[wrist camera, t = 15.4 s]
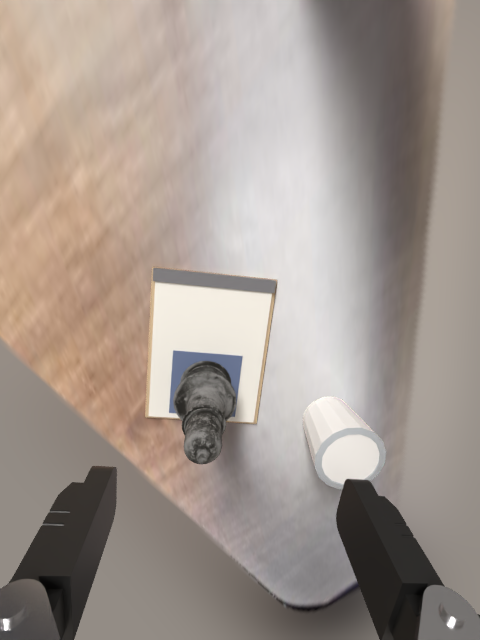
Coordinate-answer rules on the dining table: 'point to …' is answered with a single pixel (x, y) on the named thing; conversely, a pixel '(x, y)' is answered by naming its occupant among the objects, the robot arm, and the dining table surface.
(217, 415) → the dark grey chess bishop
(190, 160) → the dining table surface
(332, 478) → the shot glass
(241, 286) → the order pad
